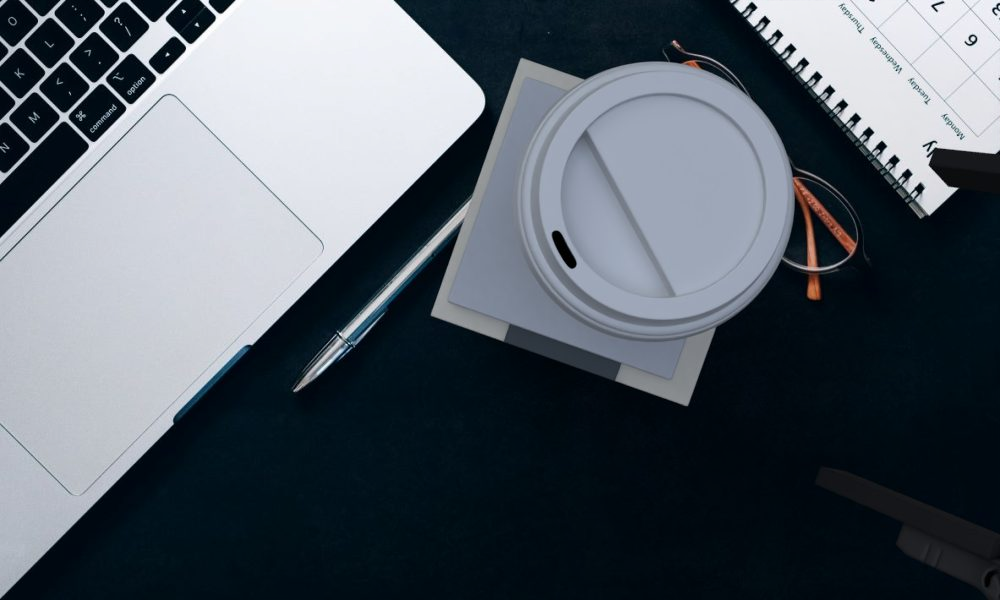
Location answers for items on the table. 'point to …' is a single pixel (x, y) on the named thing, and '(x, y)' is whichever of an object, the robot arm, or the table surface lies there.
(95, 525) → the table surface
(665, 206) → the coffee cup
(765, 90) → the table surface
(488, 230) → the scale
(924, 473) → the table surface
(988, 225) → the table surface
